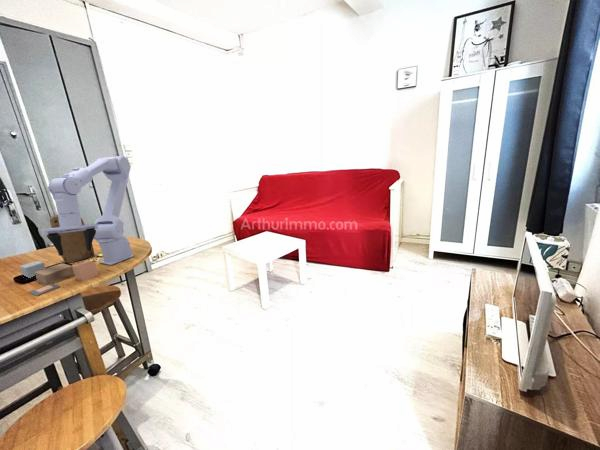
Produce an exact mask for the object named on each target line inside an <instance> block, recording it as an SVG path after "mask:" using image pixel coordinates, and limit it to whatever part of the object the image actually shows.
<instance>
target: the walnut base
mask: <svg viewBox="0 0 600 450" xmlns="http://www.w3.org/2000/svg"><path fill="white" fill-rule="evenodd" d="M72 266H73V265H69V264H66V263H63V262H62V263H58V264H56V265H52V266H49V267H45V269H43V270H40V271H36V272H34V273H35V275H36V280H37V282H38V283H40V284H43V285H44V286H45V285H48V284H51V283H52V284H56V283H59V282H62V281H64V280H67V279H70V278H72V277H75V275H74V272H73V269H72Z"/></svg>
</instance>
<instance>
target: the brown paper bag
mask: <svg viewBox="0 0 600 450" xmlns="http://www.w3.org/2000/svg"><path fill="white" fill-rule="evenodd" d="M81 222H82V225H86V223H85V222H84V220H83V218H82V217H81ZM49 223H50V226H51V228H58V227H60V224H59V219H58V214H55V215H53V216H50V217H49ZM71 230H79V229H70V230H65V231H71ZM84 231H85V230H84ZM61 232H63V231H61ZM59 235H60V236H61V246H62V250H63V255H62V256H61V258H62V260H63V261H64V262H65V263H75V262H79V261H83V260H86V259H88V258H91V257H93V256H94V255H95V250H94V247H93V244H92V246H91V250H90V251H88V250H87V248H86V241H85V237H84V233H83V231H76V232H67V233H59Z"/></svg>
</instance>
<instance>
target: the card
mask: <svg viewBox="0 0 600 450" xmlns="http://www.w3.org/2000/svg"><path fill="white" fill-rule="evenodd" d="M60 288H61V285H58V284H56V283H54V284H52V283H51V284H48V285H45V284H44V285H43V286H40V287H38V288H34V289H32V290H30V291H28V294H31V295H33V296H35V297H40V296H41V295H44V294H47V293H50V292H51V291H55V290H57V289H60Z"/></svg>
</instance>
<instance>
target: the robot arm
mask: <svg viewBox="0 0 600 450" xmlns="http://www.w3.org/2000/svg"><path fill="white" fill-rule="evenodd" d="M131 167H132V166H131V164H130V162H129V159H128V158H127V157H126V156H125V155H119V156H118V155H116V156H101V157H99V158H96V160H95V161H93V162H92V163H91V164H89V165H87V166H86V167H85V168H84V167H73V168H72V171H70V172H69V173H64V174H62V176H61V177H58V178H57V177H56V178H53V179H51V180H50V181H49V183H48V186H47V189H48V191H49V193H50V194H51V195H52V198H53V200H54V201H55V208H56V213H57V215H58V219H59V224H60V227H58V228H52V227H51V228H44V229H41V234H42V236H46V237H47V239H48V240H49V241H50V242H51V243H52V245H53V246H54V248H55V250H56V251H57V254H58V256H61V257H62V255H63V250H62V246H61V236H60V235H59V233H67V232H76V231H83V233H84V237H85V241H86V248H87V250H88V251H90V250H91V246H92V245H93V242H94V241H95V240H96V243H98V246H99V248H100V250H101V251H100V252H101V255H102V258H103V260H100V261H99V263H101V264H104V265H109V266H112V265H115V264H117V263H120V262H123V261H125V260H127V259H131V258H133V257H134V254H133V251H132V247H131V243H130V241H129V239H128V237H126V236H124V233H125V232H124V222H123V220H121V218H120V213H121V211H122V207H123V203H124V198H125V195H126V191H127V185H128V181H129V176H130V171H131ZM100 173H103V174H104V176H105V177H106V179H108V180H110V182H111V183H110V186H109V191H108V193H107V198H106V201H105V205H104V209H103V213H102V215H101V216H100V217H99V218H97V219H95V221H94V223H90V224H89V223H87V224H86V223H85V225H82V222H81V218H82V217H81V211H80V205H79V204H80V203H79V198H78V194H79V193H81V189H82V188H83V187H84V186H86V185H88V184H90V183H91V182H92V181H93V177H94V176H95V175H98V174H100ZM70 229H79V230H71V231H65V230H70ZM84 230H85V231H84ZM61 231H63V232H61Z"/></svg>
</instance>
